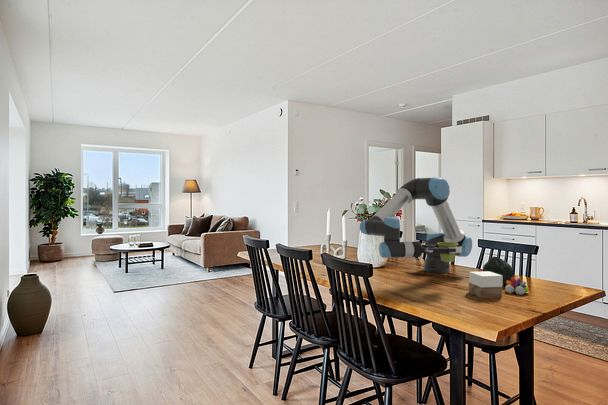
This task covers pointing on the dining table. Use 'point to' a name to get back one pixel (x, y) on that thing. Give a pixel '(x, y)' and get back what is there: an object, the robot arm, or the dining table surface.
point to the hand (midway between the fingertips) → (456, 248)
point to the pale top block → (486, 279)
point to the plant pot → (445, 256)
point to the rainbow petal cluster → (516, 286)
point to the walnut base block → (485, 291)
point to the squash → (499, 268)
